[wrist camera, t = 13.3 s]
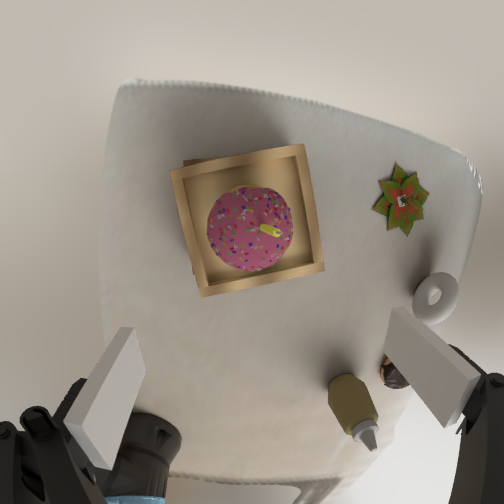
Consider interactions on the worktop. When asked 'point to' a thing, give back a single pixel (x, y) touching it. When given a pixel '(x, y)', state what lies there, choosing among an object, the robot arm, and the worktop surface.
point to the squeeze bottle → (354, 409)
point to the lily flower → (413, 204)
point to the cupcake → (250, 227)
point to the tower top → (259, 174)
